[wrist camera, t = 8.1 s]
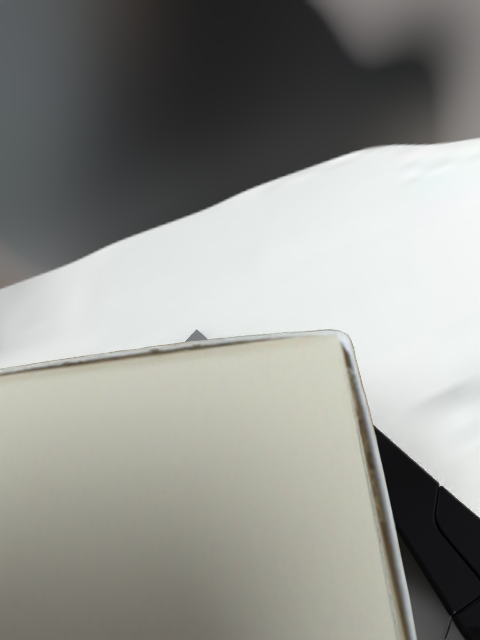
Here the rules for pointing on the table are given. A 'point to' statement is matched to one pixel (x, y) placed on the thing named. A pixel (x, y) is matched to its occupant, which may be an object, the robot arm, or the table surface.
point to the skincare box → (197, 496)
